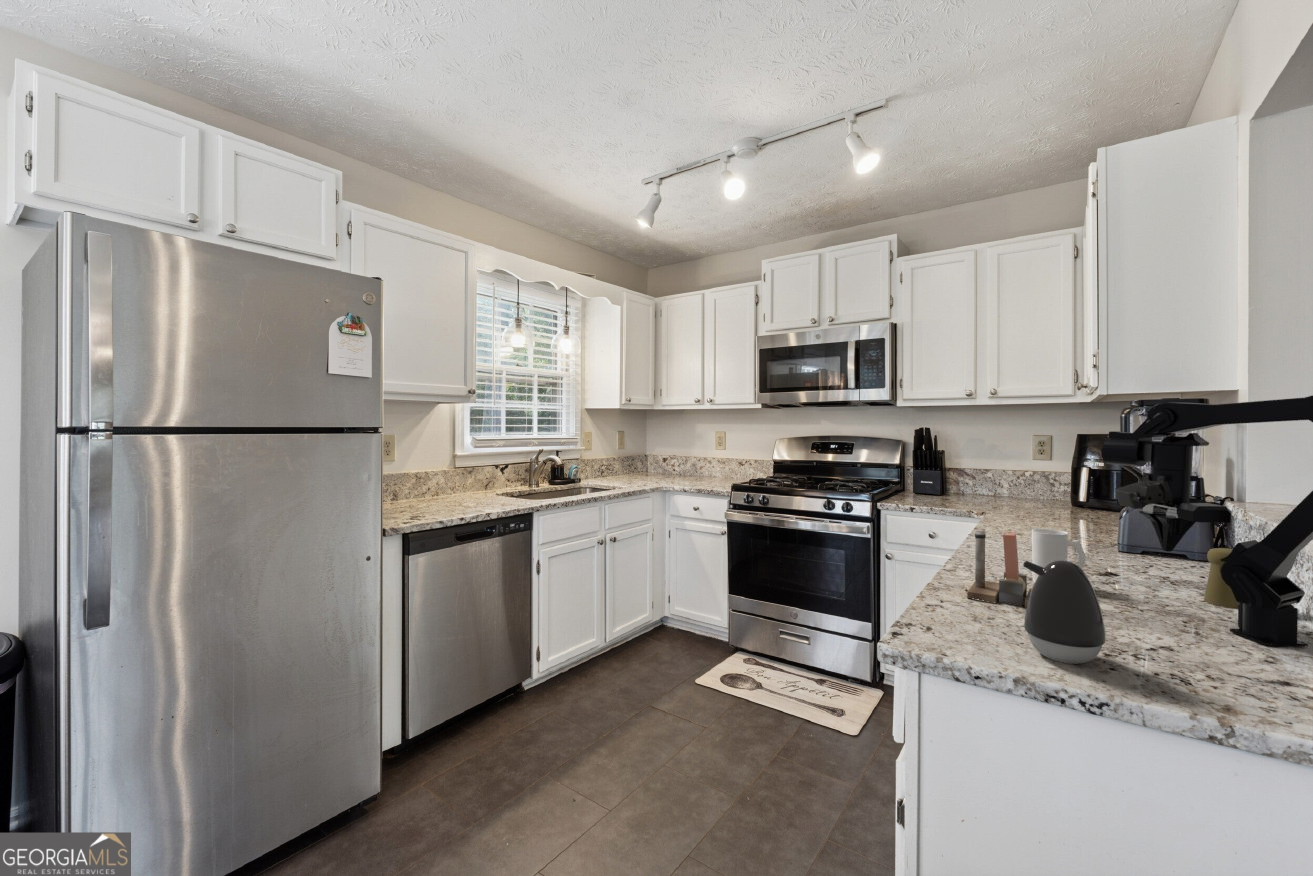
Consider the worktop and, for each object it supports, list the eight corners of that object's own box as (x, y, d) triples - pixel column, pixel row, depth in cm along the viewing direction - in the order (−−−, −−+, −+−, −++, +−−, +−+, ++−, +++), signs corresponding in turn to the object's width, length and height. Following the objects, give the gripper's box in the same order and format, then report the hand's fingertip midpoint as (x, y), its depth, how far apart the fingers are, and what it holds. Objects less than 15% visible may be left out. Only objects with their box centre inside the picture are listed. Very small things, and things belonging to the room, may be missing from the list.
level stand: (1059, 599, 115) (1059, 534, 114) (1055, 613, 106) (1056, 543, 106) (976, 586, 124) (976, 526, 124) (967, 598, 115) (967, 534, 115)
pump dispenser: (1026, 639, 94) (1026, 550, 93) (1105, 654, 87) (1106, 559, 87) (1018, 659, 86) (1019, 562, 86) (1104, 677, 79) (1105, 572, 79)
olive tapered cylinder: (1227, 599, 113) (1228, 545, 113) (1256, 609, 107) (1257, 552, 107) (1195, 598, 114) (1195, 545, 114) (1222, 608, 108) (1222, 552, 108)
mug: (1025, 583, 126) (1026, 530, 126) (1039, 578, 130) (1039, 527, 129) (1078, 594, 118) (1078, 538, 117) (1090, 588, 121) (1091, 534, 121)
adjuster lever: (1026, 595, 115) (1022, 533, 115) (1024, 600, 112) (1019, 536, 112) (1003, 593, 118) (999, 532, 118) (1001, 597, 115) (997, 535, 115)
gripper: (1090, 464, 114) (1087, 539, 115) (1166, 474, 95) (1162, 563, 96) (1148, 464, 113) (1145, 540, 114) (1236, 474, 94) (1232, 565, 95)
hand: (1167, 551), depth 105 cm, fingers closed
